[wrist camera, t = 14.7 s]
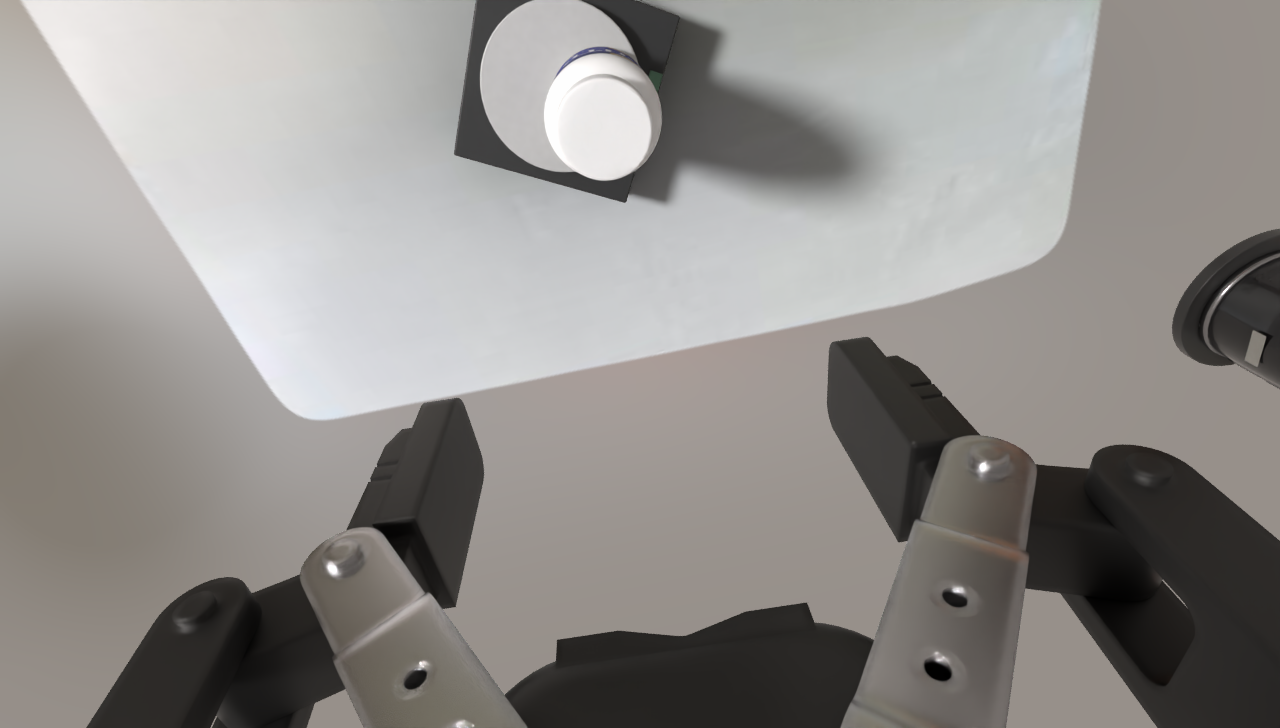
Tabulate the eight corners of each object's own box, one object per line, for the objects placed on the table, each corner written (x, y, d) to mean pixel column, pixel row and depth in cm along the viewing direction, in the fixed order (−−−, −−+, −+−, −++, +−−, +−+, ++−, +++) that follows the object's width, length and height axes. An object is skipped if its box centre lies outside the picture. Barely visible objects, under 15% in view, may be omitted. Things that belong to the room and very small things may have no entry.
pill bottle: (654, 49, 31) (677, 64, 23) (646, 155, 33) (665, 200, 26) (550, 41, 30) (538, 54, 23) (550, 149, 33) (539, 194, 25)
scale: (674, 15, 33) (682, 17, 30) (623, 192, 37) (626, 207, 35) (490, -51, 31) (481, -56, 28) (461, 146, 35) (450, 158, 33)
